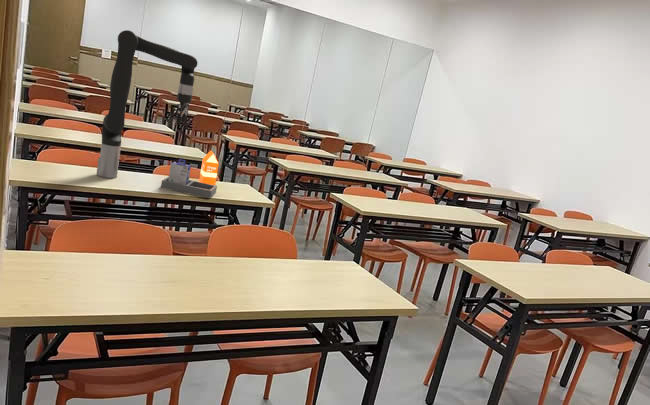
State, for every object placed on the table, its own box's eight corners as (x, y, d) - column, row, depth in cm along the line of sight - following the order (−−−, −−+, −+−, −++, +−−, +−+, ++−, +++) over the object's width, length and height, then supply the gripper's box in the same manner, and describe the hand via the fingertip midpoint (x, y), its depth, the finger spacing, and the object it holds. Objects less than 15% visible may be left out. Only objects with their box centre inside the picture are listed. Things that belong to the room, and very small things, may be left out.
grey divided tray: (160, 187, 258) (161, 180, 257) (168, 182, 272) (169, 175, 271) (210, 198, 260) (211, 190, 259) (215, 192, 273) (217, 185, 272)
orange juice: (211, 183, 291) (217, 151, 287) (214, 187, 284) (220, 154, 279) (198, 182, 288) (203, 149, 283) (201, 186, 280) (207, 152, 275)
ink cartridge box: (188, 186, 268) (192, 161, 265) (185, 188, 263) (189, 162, 260) (170, 182, 268) (174, 157, 265) (167, 184, 262) (171, 158, 259)
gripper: (182, 91, 268) (177, 120, 272) (174, 91, 254) (169, 122, 258) (195, 94, 269) (191, 123, 272) (188, 94, 255) (183, 125, 258)
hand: (180, 122), depth 265 cm, fingers open, 8 cm apart
